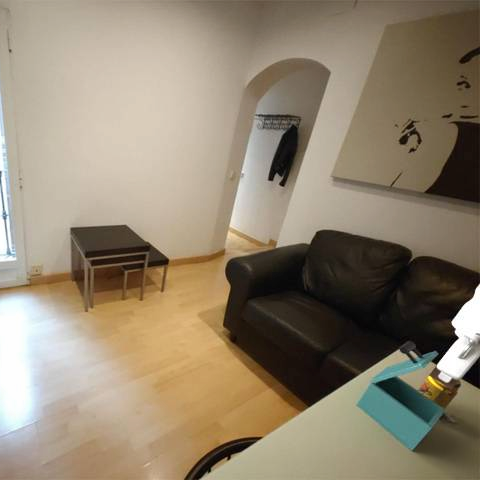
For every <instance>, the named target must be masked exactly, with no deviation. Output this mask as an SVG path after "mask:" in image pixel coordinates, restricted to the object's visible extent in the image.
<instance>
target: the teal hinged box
mask: <svg viewBox="0 0 480 480" xmlns="http://www.w3.org/2000/svg"><path fill="white" fill-rule="evenodd" d="M417 390H418V389H416V388H414V387H413V386H412V385H410V384H409V383H407V382H406V381H404V380H403V379H401V378H400V377H399V376H395V377H392V378H389V379H386V380H382V381H379V382H376V383H372V382H370V384H369V385H368V387H367V388H366V390H365V391H364V392H363V394H362V395H361V397H360V399H359V400H358V401H357V403H356V406H357V407H358V408H359V409H360V410H361V411H363V412H364V413H365V414H366V415H367V416H369V417H370V418H371V419H372V420H373V421H374V422H376V423H377V424H378V425H379V426H381V427H382V428H383V429H384V430H386V431H387V432H388V433H389V434H390V435H392V437H394V438H395V439H396V440H397V441H399V442H400V443H401V444H402V445H404V446H405V447H406V448H407V449H408V450H409V451H411V452H413V450H414V449H415V448H416V447H417V446H418V445H419V444H420V443H421V441H422V440H424V438H425V437H426V436H427V434H428V433H429V432H430V431H431V430H432V429H433V428H434V427H435V425H436V423H437V422H438V421H439V420H440V419H439V418H440V417H441V415H442V414H443V413H444V411H445V412H446V408H445V409H444V408H442V407H441V406H439V405H438V404H436V403H435V402H434V401H432V400H431V399H429V398H428V397H426V396H425V395H423V394H422V393H420V392H419V391H417Z"/></svg>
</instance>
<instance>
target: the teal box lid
mask: <svg viewBox="0 0 480 480" xmlns="http://www.w3.org/2000/svg"><path fill="white" fill-rule="evenodd" d="M398 350H399V352H400V353H401V354H403V355H406V356H407V357H408V359H407V360H405V361H402V362H398V363H396V364H393V365H389V366H387V367H385V368H384V369H382V371H380V372H379V373H378V374H377V375H375V376H374V377H372V378H371V379H370V383H376V382H379V381H382V380H386V379H389V378H392V377H395V376H397V377H399V376H402V375H405V374H409V373H412V372H415V371H418V370H421V369H424V368H425V367H427V366H428V365H429V364H430V363H431V362H432V361H433V360H434V359H435V358H436V357H437V356H438V355H439V352H437V350H434V351H431V352H428V353H426V354H423V355H422V353H421V352H420V351H419V350H418V349H417V348H416V343H414V342H413V341H411V340H408V341H406V342H404V343H403V344H402V345H401V346H400V347H398ZM411 351H412V352H413V353H414V354H415V355H416V356H417V357H414V356H413V354H412V353H411Z"/></svg>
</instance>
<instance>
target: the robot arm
mask: <svg viewBox="0 0 480 480" xmlns="http://www.w3.org/2000/svg"><path fill="white" fill-rule="evenodd" d="M474 291H475V292H474V294H473V297H472V298H471V299H470V300H469V301H467V302H466V303H465V304H464V305H463V306H462V307H461V308H460V310H459V311H458V313H456V316H454V318H453V319H452V321H451V325H452V326H453V327H454V329H455V330H454V333H455V335H456V336H457V337H458V339H457V340H456V341H455V342H454V343H453V344H452V345H451V346H450V348H449V349H448V350H447V352H445V355H443V357H442V358H441V359H440V360H439V362H438V363H437V364H438V365H437V364H436V366H437V368H438V369H439V370H440V371H442V372H441V373H440V374H439V375H438V377H439V378H440V379H441V380H443V381H445V382H447V383H448V382H449V381H450V380H451V379H452V378H454V379H456V380H459V379H460V380H461V379H462V378H463V377H464V376H465V374H466V373H467V372H468V371H469V370H470V369H471V368H472V367H473V365H474V364H475V363H476V361H477V360H478V359H479V358H480V283H479V284H478V286H477V287H476V288H475V290H474ZM460 380H459V381H460Z"/></svg>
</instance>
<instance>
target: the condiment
mask: <svg viewBox="0 0 480 480" xmlns="http://www.w3.org/2000/svg"><path fill="white" fill-rule="evenodd" d="M461 387H462V383H461V381H460V380H459V381H458V383H457V384H456V385H455V386H454V387H453V388H452V390H451V389H449V388H448V387H446V386H445V385H443V384H441V383H440V382H438V381H437V380H435V379H433V378H432V377H430V376H429V375H428V376H427V377H426V378H425V380H424V381H423V383H422V384H421V385H420V386H419V388H418V389H416V390H417V391H419V392H420V393H422V394H423V395H425V396H426V397H428V398H429V399H431V400H432V401H434V402H435V403H436V404H438V405H439V406H441V407H442V408H444V409H445V411H444V413H443V414H442V415H441V417H440V418H439V419H438V420H441V421H446V422H452V423H455V424H456V421H455V420H454V419H453V418H452V417H451V416H450V415H449V414H448V413H447V412H446V408H447V407H448V405H449V404H450V403H451V402H452V401H453V400H454V398H456V396H457V395H458V391H459V389H460V388H461Z"/></svg>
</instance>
